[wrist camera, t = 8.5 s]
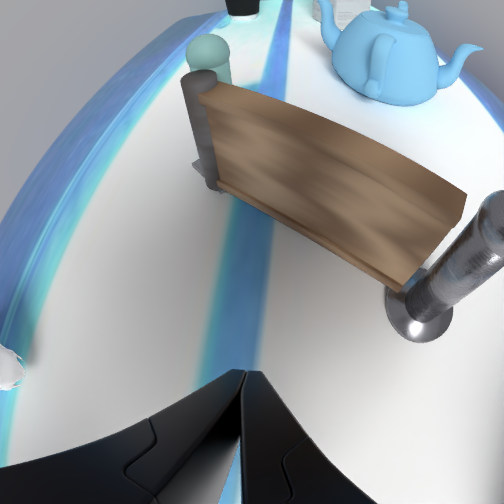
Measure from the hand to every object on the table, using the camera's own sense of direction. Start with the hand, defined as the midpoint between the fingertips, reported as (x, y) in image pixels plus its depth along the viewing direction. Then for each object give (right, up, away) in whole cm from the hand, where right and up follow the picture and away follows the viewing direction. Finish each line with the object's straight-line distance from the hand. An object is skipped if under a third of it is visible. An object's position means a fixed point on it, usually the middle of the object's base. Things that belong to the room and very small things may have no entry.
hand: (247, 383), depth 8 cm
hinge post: (+11, 0, +10) cm, 15 cm away
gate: (+3, +5, +12) cm, 14 cm away
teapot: (+16, +25, +23) cm, 37 cm away
